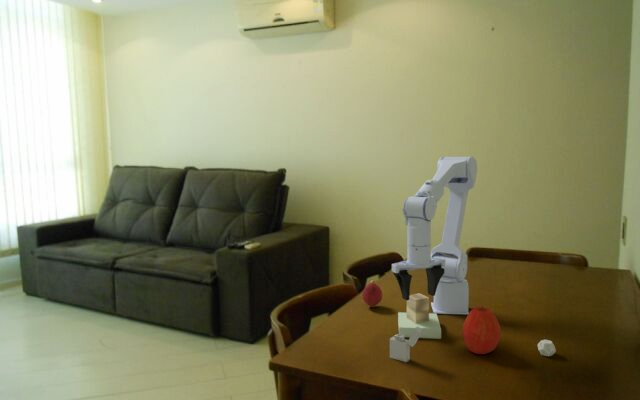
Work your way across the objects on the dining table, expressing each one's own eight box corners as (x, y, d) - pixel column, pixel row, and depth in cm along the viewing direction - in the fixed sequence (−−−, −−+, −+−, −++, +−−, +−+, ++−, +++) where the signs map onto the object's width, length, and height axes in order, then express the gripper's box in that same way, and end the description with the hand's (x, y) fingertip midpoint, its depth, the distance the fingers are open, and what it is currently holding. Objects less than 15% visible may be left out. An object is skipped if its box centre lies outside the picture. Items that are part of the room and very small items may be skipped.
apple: (496, 363, 94) (497, 314, 93) (457, 354, 99) (458, 308, 98) (503, 348, 101) (504, 303, 100) (466, 340, 106) (467, 297, 104)
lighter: (389, 357, 98) (389, 322, 97) (392, 354, 99) (392, 320, 98) (419, 366, 94) (419, 330, 93) (422, 362, 95) (423, 327, 94)
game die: (547, 359, 96) (548, 346, 95) (533, 352, 99) (533, 339, 99) (559, 356, 97) (559, 343, 97) (544, 349, 100) (545, 336, 100)
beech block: (419, 315, 116) (419, 293, 115) (428, 320, 112) (428, 297, 111) (406, 317, 114) (406, 295, 113) (415, 323, 110) (415, 300, 110)
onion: (381, 311, 126) (381, 284, 125) (361, 310, 127) (361, 283, 126) (383, 304, 131) (382, 278, 131) (363, 303, 133) (363, 277, 132)
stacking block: (436, 324, 117) (436, 313, 117) (441, 340, 107) (441, 328, 107) (398, 323, 118) (398, 312, 118) (399, 339, 109) (399, 327, 108)
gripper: (433, 238, 117) (433, 288, 118) (385, 244, 111) (385, 296, 113) (450, 243, 110) (450, 296, 112) (400, 249, 105) (400, 304, 106)
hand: (418, 296), depth 112 cm, fingers open, 7 cm apart
